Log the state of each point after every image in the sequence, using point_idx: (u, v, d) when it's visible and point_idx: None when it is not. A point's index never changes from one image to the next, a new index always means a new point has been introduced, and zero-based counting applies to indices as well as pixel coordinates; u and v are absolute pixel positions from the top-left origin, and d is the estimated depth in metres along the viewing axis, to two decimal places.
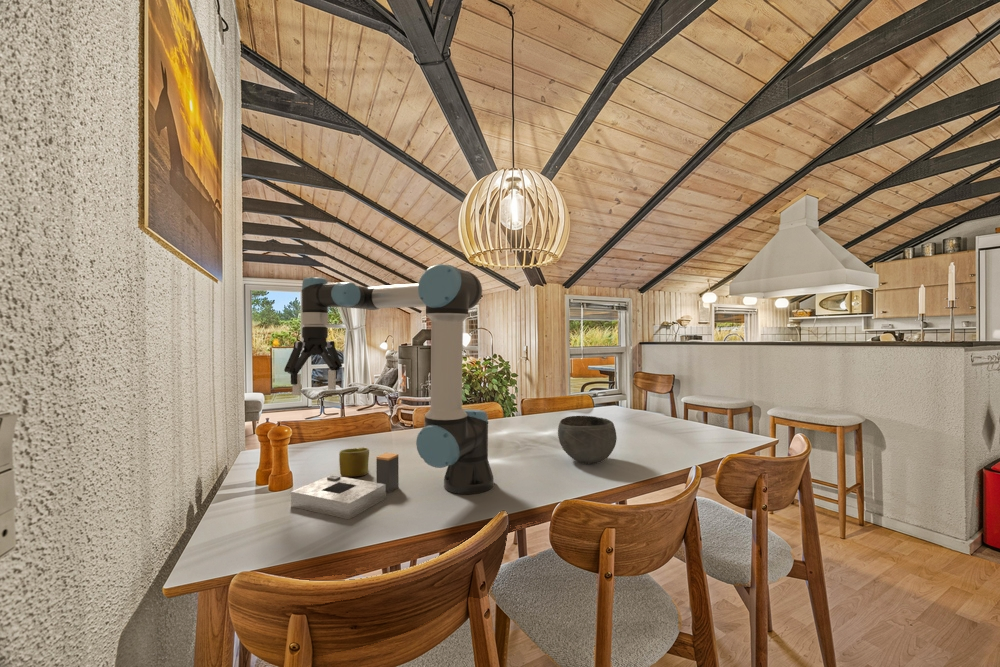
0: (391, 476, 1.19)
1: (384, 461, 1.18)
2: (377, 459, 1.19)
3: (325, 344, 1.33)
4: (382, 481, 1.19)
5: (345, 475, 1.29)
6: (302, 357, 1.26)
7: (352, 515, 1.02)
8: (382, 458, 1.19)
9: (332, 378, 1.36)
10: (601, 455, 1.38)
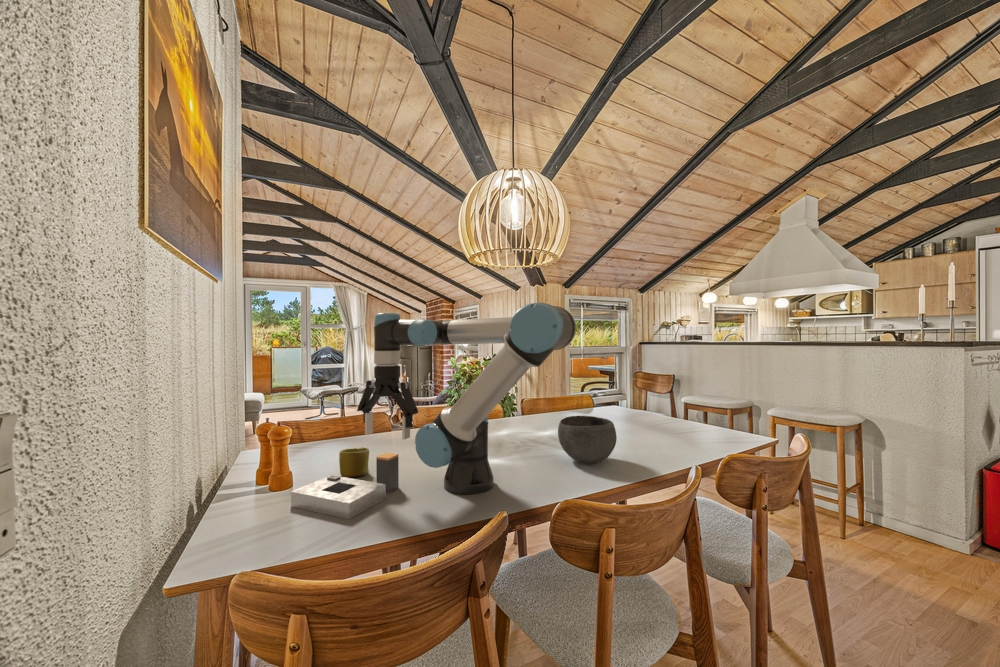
0: (391, 476, 1.19)
1: (384, 461, 1.18)
2: (377, 459, 1.19)
3: (393, 385, 1.19)
4: (382, 481, 1.19)
5: (345, 475, 1.29)
6: None
7: (352, 515, 1.02)
8: (382, 458, 1.19)
9: None
10: (601, 455, 1.38)
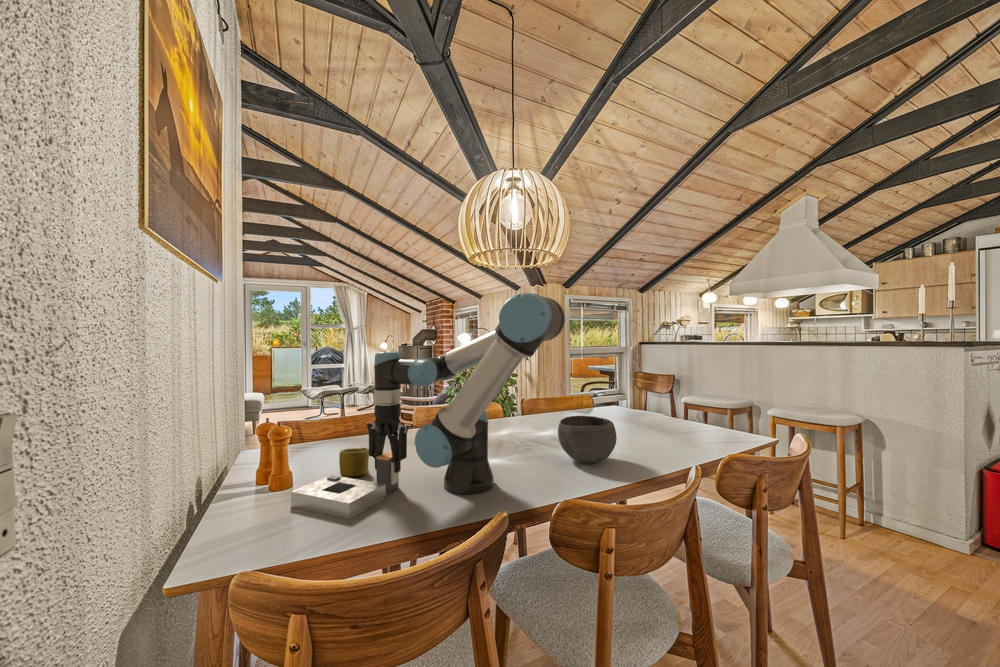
0: None
1: (384, 461, 1.18)
2: (377, 458, 1.19)
3: (393, 425, 1.19)
4: (382, 481, 1.19)
5: (345, 475, 1.29)
6: None
7: (352, 515, 1.02)
8: (382, 458, 1.19)
9: None
10: (601, 455, 1.38)
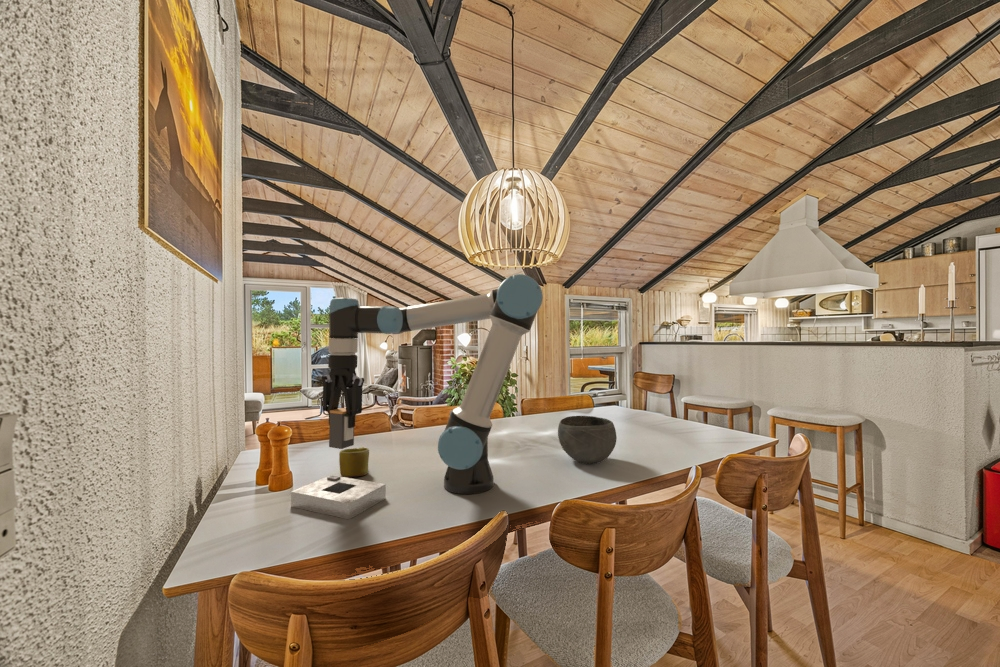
0: None
1: (337, 415, 1.10)
2: (330, 412, 1.11)
3: (348, 376, 1.10)
4: (334, 437, 1.10)
5: (345, 475, 1.29)
6: None
7: (352, 515, 1.02)
8: (335, 412, 1.10)
9: None
10: (601, 455, 1.38)
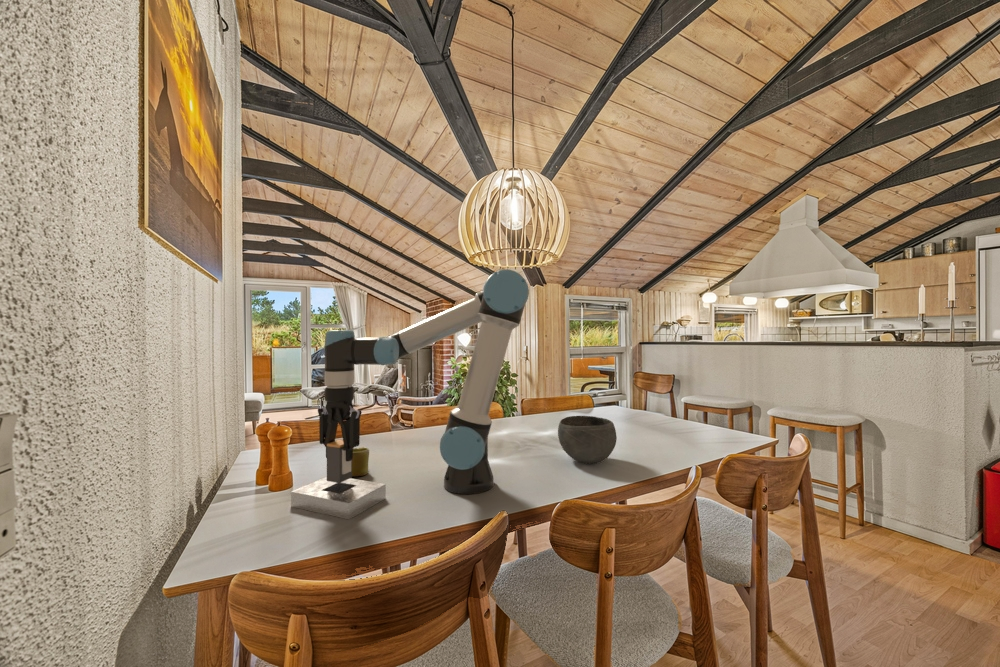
0: None
1: (335, 448, 1.09)
2: (327, 446, 1.10)
3: (345, 409, 1.09)
4: (332, 471, 1.09)
5: None
6: None
7: (352, 515, 1.02)
8: (332, 445, 1.09)
9: None
10: (601, 455, 1.38)
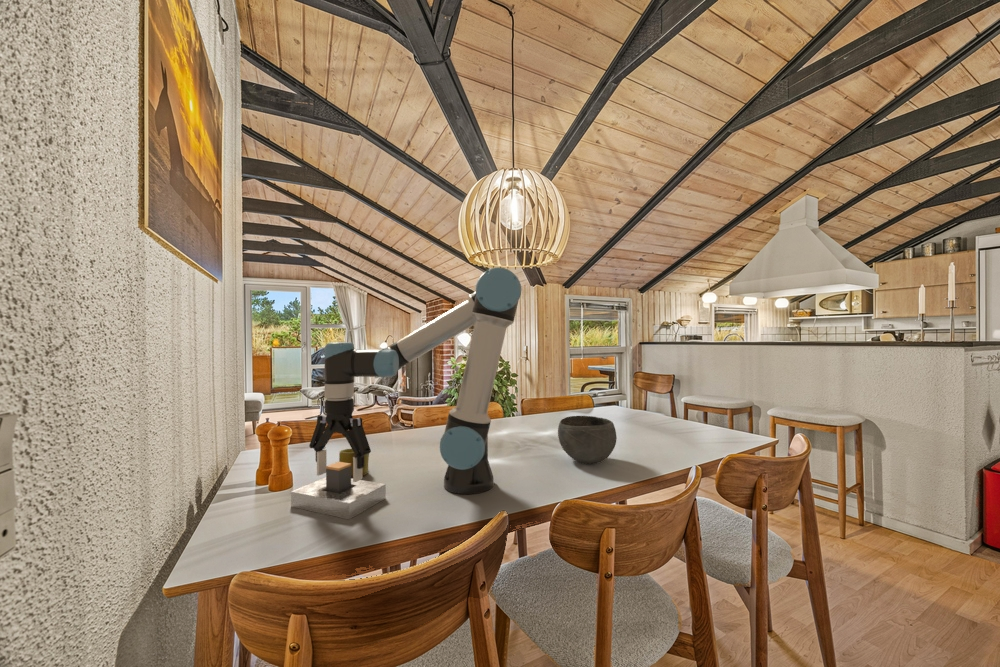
0: (341, 487, 1.09)
1: (334, 471, 1.09)
2: (327, 468, 1.10)
3: (345, 421, 1.09)
4: None
5: None
6: None
7: (352, 515, 1.02)
8: (332, 468, 1.09)
9: None
10: (601, 455, 1.38)
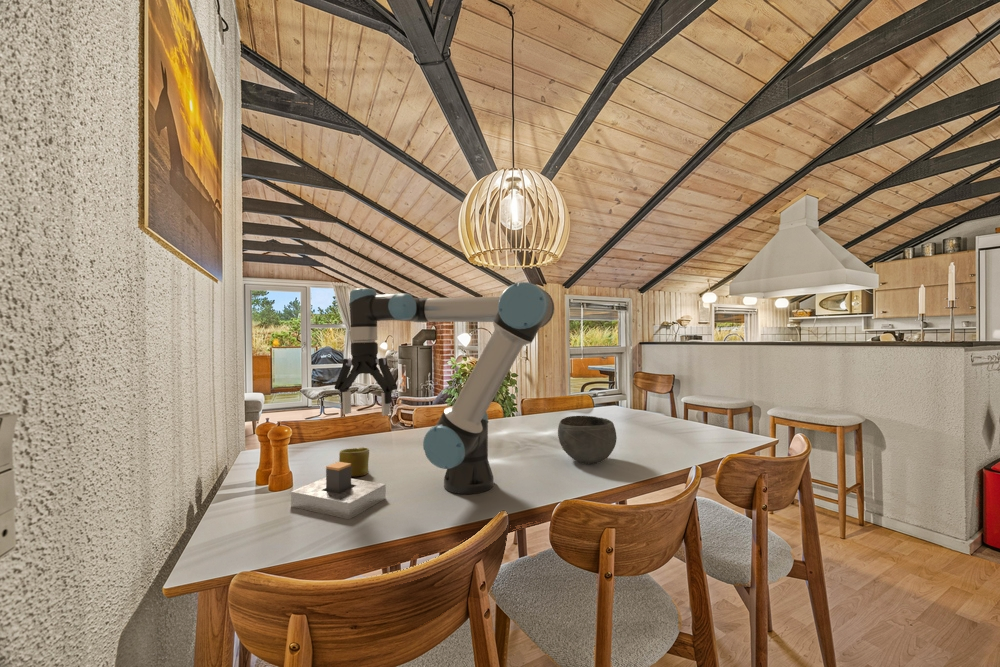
0: (341, 487, 1.09)
1: (334, 471, 1.09)
2: (327, 468, 1.10)
3: (371, 362, 1.17)
4: None
5: None
6: None
7: (352, 515, 1.02)
8: (332, 468, 1.09)
9: None
10: (601, 455, 1.38)
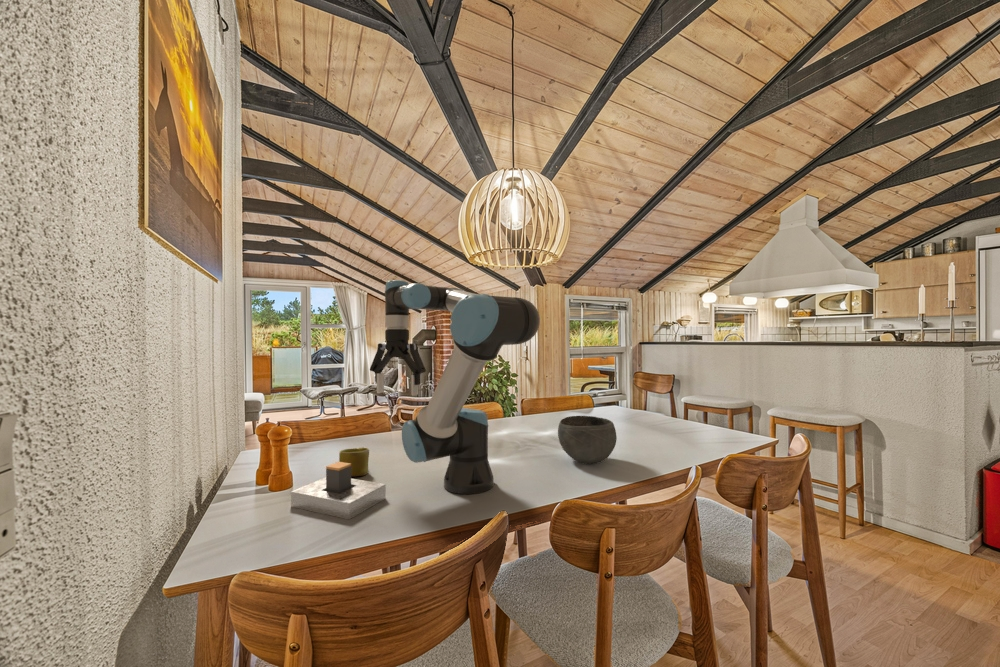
0: (341, 487, 1.09)
1: (334, 471, 1.09)
2: (327, 468, 1.10)
3: (403, 347, 1.29)
4: None
5: None
6: None
7: (352, 515, 1.02)
8: (332, 468, 1.09)
9: None
10: (601, 455, 1.38)
